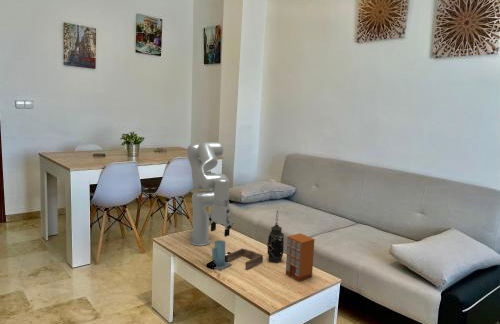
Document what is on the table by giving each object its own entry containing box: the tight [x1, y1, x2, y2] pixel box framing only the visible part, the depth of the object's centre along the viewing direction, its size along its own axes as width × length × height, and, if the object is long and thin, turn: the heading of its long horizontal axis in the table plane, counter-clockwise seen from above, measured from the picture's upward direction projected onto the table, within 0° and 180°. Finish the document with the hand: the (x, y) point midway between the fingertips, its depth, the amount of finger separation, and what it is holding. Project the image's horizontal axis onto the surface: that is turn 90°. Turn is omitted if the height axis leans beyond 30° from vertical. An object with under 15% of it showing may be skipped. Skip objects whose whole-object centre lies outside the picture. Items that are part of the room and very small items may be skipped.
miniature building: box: [285, 232, 316, 282], centre depth 191 cm, size 10×9×20 cm
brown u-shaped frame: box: [225, 248, 264, 271], centre depth 206 cm, size 14×14×4 cm
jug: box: [211, 239, 226, 266], centre depth 200 cm, size 8×6×12 cm
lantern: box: [266, 210, 285, 263], centre depth 209 cm, size 10×9×28 cm
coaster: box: [213, 261, 233, 271], centre depth 201 cm, size 9×9×1 cm
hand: (219, 233), depth 200 cm, fingers open, 9 cm apart
